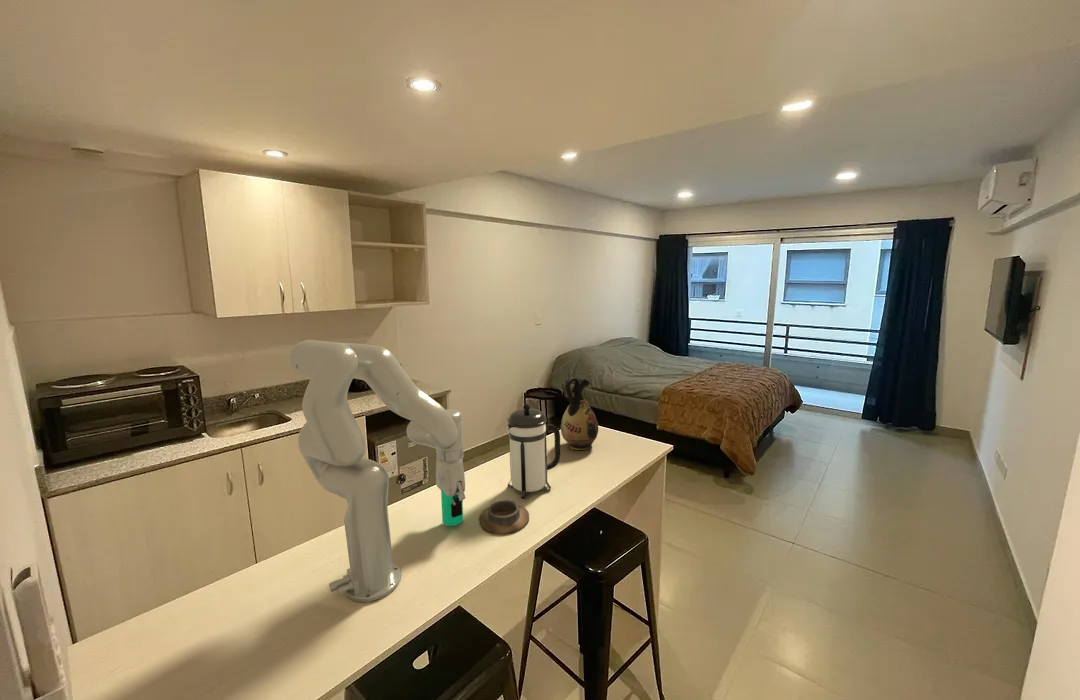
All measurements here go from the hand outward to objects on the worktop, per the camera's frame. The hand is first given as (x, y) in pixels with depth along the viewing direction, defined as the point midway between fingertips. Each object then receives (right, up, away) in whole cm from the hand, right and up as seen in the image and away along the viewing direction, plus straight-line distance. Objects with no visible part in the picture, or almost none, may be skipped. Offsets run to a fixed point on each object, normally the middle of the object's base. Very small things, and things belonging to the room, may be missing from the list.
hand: (452, 511), depth 128 cm
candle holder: (+15, -3, +3) cm, 16 cm away
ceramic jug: (+41, +7, +53) cm, 68 cm away
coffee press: (+23, 0, +21) cm, 31 cm away
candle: (0, -3, 0) cm, 3 cm away
